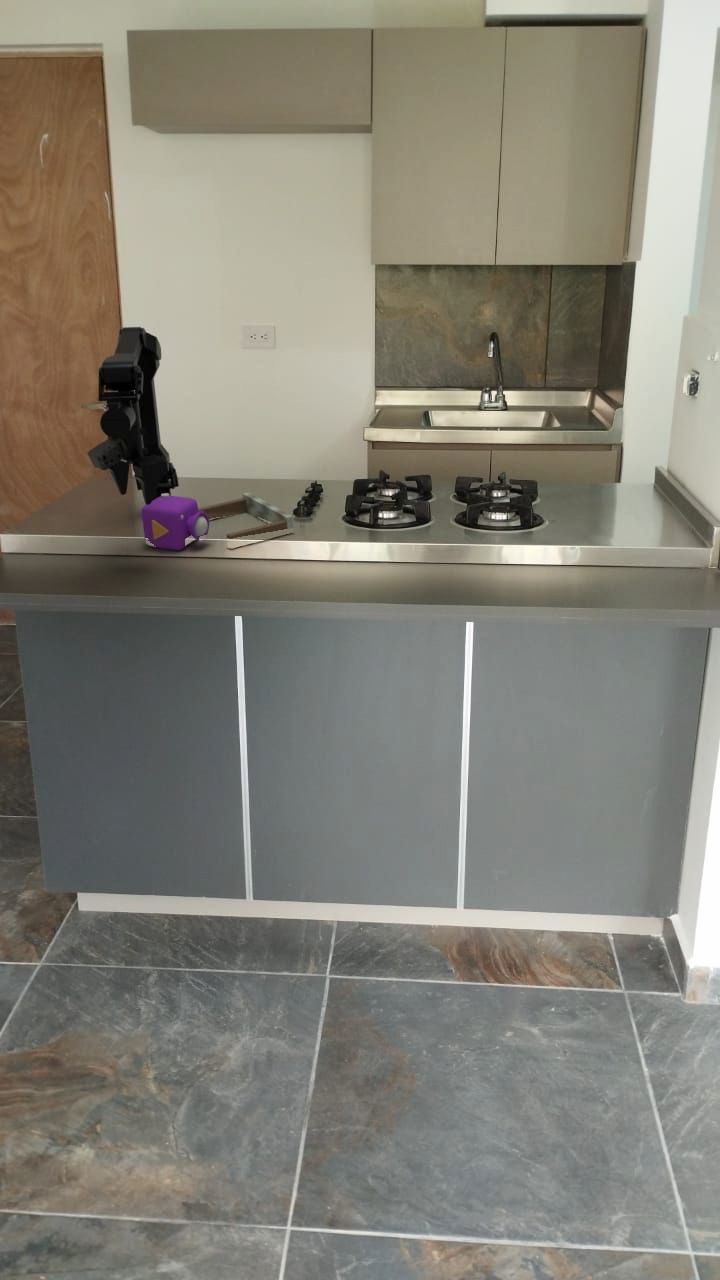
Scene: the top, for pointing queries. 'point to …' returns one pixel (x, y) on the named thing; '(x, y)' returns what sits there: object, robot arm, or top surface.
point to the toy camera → (173, 521)
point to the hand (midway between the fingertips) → (135, 499)
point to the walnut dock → (255, 508)
